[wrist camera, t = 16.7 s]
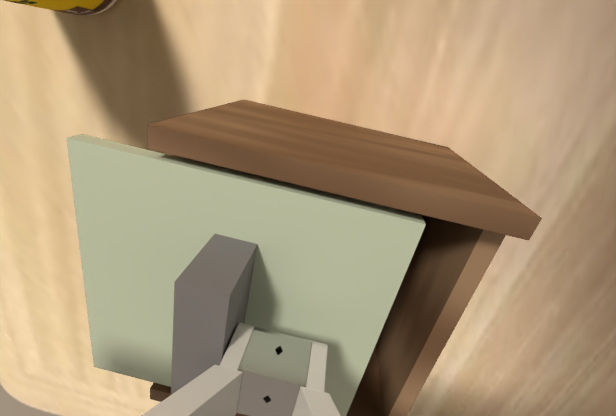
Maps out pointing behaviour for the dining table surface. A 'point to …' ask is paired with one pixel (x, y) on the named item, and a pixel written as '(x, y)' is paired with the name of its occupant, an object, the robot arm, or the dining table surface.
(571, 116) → the dining table surface
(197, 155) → the walnut box
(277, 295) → the lid
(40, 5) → the supplement bottle
